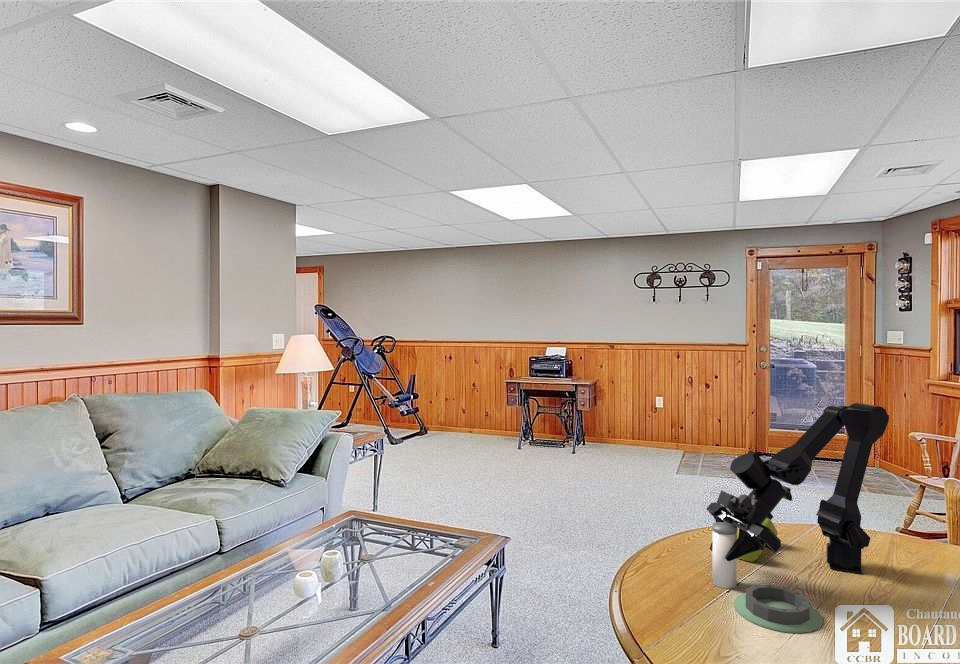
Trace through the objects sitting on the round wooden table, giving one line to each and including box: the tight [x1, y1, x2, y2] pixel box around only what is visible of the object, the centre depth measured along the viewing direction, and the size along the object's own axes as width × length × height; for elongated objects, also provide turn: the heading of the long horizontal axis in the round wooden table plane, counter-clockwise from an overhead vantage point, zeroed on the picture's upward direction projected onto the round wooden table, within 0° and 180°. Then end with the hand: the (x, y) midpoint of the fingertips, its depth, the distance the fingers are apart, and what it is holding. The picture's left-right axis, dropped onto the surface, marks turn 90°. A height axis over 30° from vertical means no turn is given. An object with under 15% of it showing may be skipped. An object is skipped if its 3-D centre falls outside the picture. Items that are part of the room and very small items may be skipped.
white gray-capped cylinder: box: [711, 521, 738, 589], centre depth 132 cm, size 5×5×13 cm
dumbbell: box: [737, 518, 779, 563], centre depth 149 cm, size 16×8×7 cm, turn 138°
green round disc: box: [733, 584, 823, 634], centre depth 119 cm, size 16×16×3 cm
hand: (718, 555), depth 131 cm, fingers closed on white gray-capped cylinder, 5 cm apart
